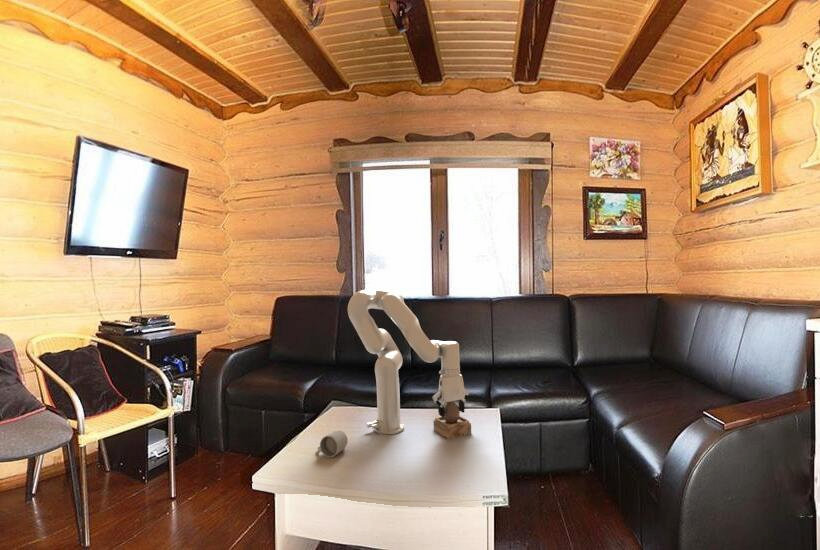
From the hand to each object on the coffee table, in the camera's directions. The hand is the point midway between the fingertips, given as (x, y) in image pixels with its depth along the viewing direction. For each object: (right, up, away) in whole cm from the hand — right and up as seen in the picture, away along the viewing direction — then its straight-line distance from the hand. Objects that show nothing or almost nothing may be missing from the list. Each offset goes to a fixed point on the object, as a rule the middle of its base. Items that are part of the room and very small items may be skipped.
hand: (451, 413), depth 166 cm
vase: (0, -4, 0) cm, 4 cm away
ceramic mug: (-46, -9, -16) cm, 50 cm away
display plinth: (0, -7, 0) cm, 7 cm away
